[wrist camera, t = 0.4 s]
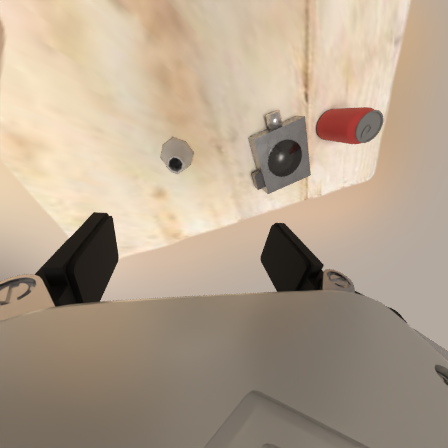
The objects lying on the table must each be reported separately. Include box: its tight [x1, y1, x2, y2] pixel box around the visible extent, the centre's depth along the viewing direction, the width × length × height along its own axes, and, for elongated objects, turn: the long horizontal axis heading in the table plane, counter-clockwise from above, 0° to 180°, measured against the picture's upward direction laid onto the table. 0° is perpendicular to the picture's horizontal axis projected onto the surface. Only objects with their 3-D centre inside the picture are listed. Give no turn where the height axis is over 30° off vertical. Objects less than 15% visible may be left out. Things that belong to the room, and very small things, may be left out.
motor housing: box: [248, 110, 311, 194], centre depth 43 cm, size 17×14×4 cm
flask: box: [160, 137, 194, 174], centre depth 37 cm, size 7×7×10 cm
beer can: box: [317, 107, 383, 144], centre depth 39 cm, size 7×7×12 cm
